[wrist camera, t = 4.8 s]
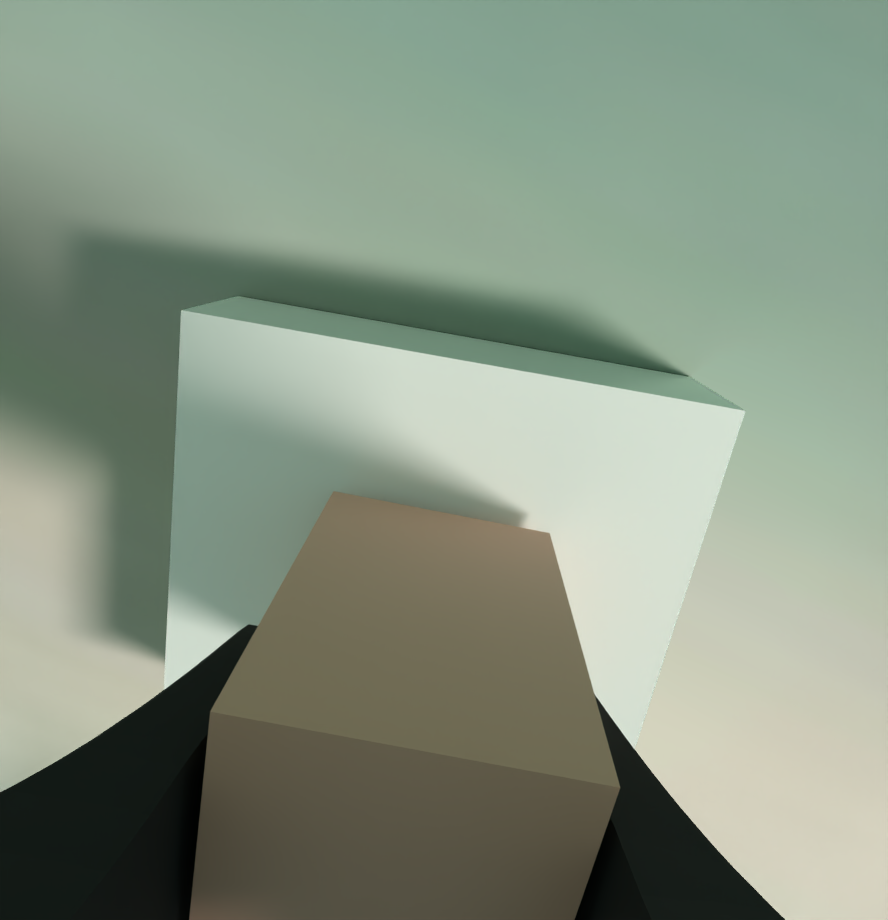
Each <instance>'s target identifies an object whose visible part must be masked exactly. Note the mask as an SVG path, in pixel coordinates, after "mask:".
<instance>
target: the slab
mask: <svg viewBox="0 0 888 920" xmlns="http://www.w3.org/2000/svg"><path fill="white" fill-rule="evenodd" d="M744 414H745V410H743V409H742V408H740V407H738V406H737V405H735V404H734V403H732V402H730V401H729V400H727V399H726V398H724V397H722V396H721V395H719V394H718V393H716V392H714V391H713V390H711V389H709V388H708V387H706V386H705V385H703V384H701V383H700V382H698V381H697V380H695V379H693V378H692V377H687V376H682V375H676V374H671V373H665V372H659V371H654V370H648V369H643V368H637V367H631V366H626V365H620V364H615V363H609V362H604V361H598V360H592V359H587V358H581V357H576V356H570V355H565V354H559V353H553V352H548V351H542V350H537V349H531V348H525V347H520V346H514V345H509V344H503V343H498V342H492V341H486V340H481V339H475V338H470V337H464V336H459V335H453V334H447V333H442V332H436V331H431V330H425V329H419V328H414V327H408V326H403V325H397V324H392V323H386V322H380V321H375V320H369V319H364V318H358V317H353V316H347V315H341V314H336V313H330V312H325V311H319V310H313V309H308V308H302V307H297V306H291V305H286V304H280V303H274V302H269V301H263V300H258V299H252V298H247V297H241V296H236V297H232V298H228V299H224V300H220V301H216V302H212V303H208V304H204V305H200V306H196V307H192V308H188V309H184V310H181V324H180V346H179V368H178V390H177V412H176V434H175V456H174V478H173V500H172V522H171V544H170V566H169V588H168V610H167V632H166V654H165V676H164V689H166V688H167V687H168V686H170V685H171V684H173V683H174V682H175V681H177V680H178V679H179V678H181V677H182V676H183V675H185V674H186V673H187V672H188V671H190V670H191V669H192V668H194V667H195V666H196V665H197V664H199V663H200V662H201V661H202V660H204V659H205V658H206V657H207V656H209V655H210V654H211V653H212V652H214V651H215V650H216V649H217V648H219V647H220V646H221V645H222V644H223V643H225V642H226V641H227V640H228V639H230V638H231V637H232V636H233V635H234V634H236V633H237V632H238V631H239V630H241V629H242V628H244V627H245V626H247V625H248V624H250V625H256V626H258V625H259V623H260V622H261V620H262V618H263V616H264V614H265V613H266V611H267V609H268V607H269V605H270V604H271V602H272V600H273V598H274V596H275V595H276V593H277V591H278V589H279V587H280V586H281V584H282V582H283V580H284V579H285V577H286V575H287V573H288V571H289V570H290V568H291V566H292V564H293V562H294V561H295V559H296V557H297V555H298V553H299V552H300V550H301V548H302V546H303V545H304V543H305V541H306V539H307V537H308V536H309V534H310V532H311V530H312V528H313V527H314V525H315V523H316V521H317V519H318V518H319V516H320V514H321V512H322V511H323V509H324V507H325V505H326V503H327V502H328V500H329V498H330V496H331V494H332V493H333V491H336V492H341V493H346V494H351V495H356V496H361V497H366V498H372V499H377V500H382V501H387V502H392V503H397V504H403V505H408V506H413V507H418V508H423V509H428V510H433V511H439V512H444V513H449V514H454V515H459V516H464V517H469V518H475V519H480V520H485V521H490V522H495V523H500V524H506V525H511V526H516V527H521V528H526V529H531V530H536V531H542V532H547V533H550V536H551V540H552V543H553V547H554V551H555V554H556V558H557V561H558V565H559V569H560V572H561V576H562V579H563V583H564V587H565V590H566V594H567V597H568V601H569V605H570V608H571V612H572V615H573V619H574V623H575V626H576V630H577V633H578V637H579V641H580V644H581V648H582V651H583V655H584V659H585V662H586V666H587V669H588V673H589V677H590V680H591V684H592V687H593V691H594V694H595V696H596V697H597V698H598V700H599V701H600V703H601V704H602V705H603V707H604V708H605V710H606V711H607V712H608V714H609V715H610V717H611V718H612V719H613V721H614V722H615V723H616V725H617V726H618V728H619V729H620V730H621V732H622V733H623V734H624V736H625V737H626V739H627V740H628V741H629V743H630V744H631V745H632V747H633V748H634V749H635V746H636V743H637V740H638V737H639V734H640V731H641V728H642V725H643V722H644V719H645V716H646V713H647V710H648V707H649V704H650V701H651V698H652V694H653V691H654V688H655V685H656V682H657V679H658V676H659V673H660V670H661V667H662V664H663V661H664V658H665V655H666V652H667V649H668V646H669V643H670V640H671V636H672V633H673V630H674V627H675V624H676V621H677V618H678V615H679V612H680V609H681V606H682V603H683V600H684V597H685V594H686V591H687V588H688V585H689V582H690V578H691V575H692V572H693V569H694V566H695V563H696V560H697V557H698V554H699V551H700V548H701V545H702V542H703V539H704V536H705V533H706V530H707V527H708V523H709V520H710V517H711V514H712V511H713V508H714V505H715V502H716V499H717V496H718V493H719V490H720V487H721V484H722V481H723V478H724V475H725V472H726V469H727V465H728V462H729V459H730V456H731V453H732V450H733V447H734V444H735V441H736V438H737V435H738V432H739V429H740V426H741V423H742V420H743V417H744Z"/></svg>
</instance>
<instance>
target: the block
mask: <svg viewBox="0 0 888 920" xmlns="http://www.w3.org/2000/svg"><path fill="white" fill-rule="evenodd" d="M619 790H620V785H619V781H618V777H617V774H616V770H615V767H614V763H613V759H612V756H611V752H610V749H609V745H608V741H607V738H606V734H605V731H604V727H603V723H602V720H601V716H600V713H599V709H598V705H597V702H596V698H595V695H594V691H593V687H592V684H591V680H590V677H589V673H588V669H587V666H586V662H585V659H584V655H583V651H582V648H581V644H580V641H579V637H578V633H577V630H576V626H575V623H574V619H573V615H572V612H571V608H570V605H569V601H568V597H567V594H566V590H565V587H564V583H563V579H562V576H561V572H560V569H559V565H558V561H557V558H556V554H555V551H554V547H553V543H552V540H551V536H550V533H547V532H542V531H536V530H531V529H526V528H521V527H516V526H511V525H506V524H500V523H495V522H490V521H485V520H480V519H475V518H469V517H464V516H459V515H454V514H449V513H444V512H439V511H433V510H428V509H423V508H418V507H413V506H408V505H403V504H397V503H392V502H387V501H382V500H377V499H372V498H366V497H361V496H356V495H351V494H346V493H341V492H336V491H333V493H332V494H331V496H330V498H329V500H328V502H327V503H326V505H325V507H324V509H323V511H322V512H321V514H320V516H319V518H318V519H317V521H316V523H315V525H314V527H313V528H312V530H311V532H310V534H309V536H308V537H307V539H306V541H305V543H304V545H303V546H302V548H301V550H300V552H299V553H298V555H297V557H296V559H295V561H294V562H293V564H292V566H291V568H290V570H289V571H288V573H287V575H286V577H285V579H284V580H283V582H282V584H281V586H280V587H279V589H278V591H277V593H276V595H275V596H274V598H273V600H272V602H271V604H270V605H269V607H268V609H267V611H266V613H265V614H264V616H263V618H262V620H261V622H260V623H259V625H258V627H257V629H256V630H255V632H254V634H253V636H252V638H251V639H250V641H249V643H248V645H247V647H246V648H245V650H244V652H243V654H242V656H241V657H240V659H239V661H238V663H237V664H236V666H235V668H234V670H233V672H232V673H231V675H230V677H229V679H228V681H227V682H226V684H225V686H224V688H223V690H222V691H221V693H220V695H219V697H218V698H217V700H216V702H215V704H214V706H213V707H212V709H211V711H210V718H209V728H208V738H207V748H206V758H205V768H204V778H203V788H202V798H201V807H200V817H199V827H198V837H197V847H196V857H195V867H194V877H193V887H192V897H191V906H190V916H189V920H575V917H576V914H577V911H578V908H579V905H580V903H581V900H582V897H583V894H584V891H585V888H586V885H587V882H588V880H589V877H590V874H591V871H592V868H593V865H594V862H595V859H596V856H597V854H598V851H599V848H600V845H601V842H602V839H603V836H604V833H605V830H606V828H607V825H608V822H609V819H610V816H611V813H612V810H613V807H614V805H615V802H616V799H617V796H618V793H619Z"/></svg>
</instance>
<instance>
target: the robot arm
mask: <svg viewBox="0 0 888 920" xmlns="http://www.w3.org/2000/svg"><path fill="white" fill-rule="evenodd" d="M257 627H258V626H256V625H250V624H248V625H247V626H245V627H244V628H242V629H241V630H239V631H238V632H237V633H236V634H234V635H233V636H232V637H231V638H230V639H228V640H227V641H226V642H225V643H223V644H222V645H221V646H220V647H219V648H217V649H216V650H215V651H214V652H212V653H211V654H210V655H209V656H207V657H206V658H205V659H204V660H202V661H201V662H200V663H199V664H197V665H196V666H195V667H194V668H192V669H191V670H190V671H188V672H187V673H186V674H185V675H183V676H182V677H181V678H179V679H178V680H177V681H175V682H174V683H173V684H171V685H170V686H168V687H167V688H166V689H164V690H163V691H162V692H160V693H159V694H158V695H156V696H155V697H154V698H152V699H151V700H150V701H148V702H147V703H146V704H144V705H143V706H141V707H140V708H138V709H137V710H135V711H134V712H132V713H131V714H129V715H128V716H127V717H125V718H124V719H122V720H121V721H119V722H118V723H116V724H115V725H113V726H112V727H110V728H109V729H107V730H106V731H104V732H103V733H101V734H100V735H98V736H97V737H95V738H94V739H92V740H91V741H89V742H88V743H86V744H84V745H83V746H81V747H79V748H78V749H76V750H75V751H73V752H71V753H70V754H68V755H67V756H65V757H63V758H61V759H60V760H58V761H56V762H55V763H53V764H51V765H50V766H48V767H46V768H44V769H42V770H41V771H39V772H37V773H35V774H34V775H32V776H30V777H28V778H27V779H25V780H23V781H21V782H19V783H17V784H15V785H14V786H12V787H10V788H8V789H6V790H4V791H2V792H0V920H189V916H190V906H191V897H192V887H193V877H194V867H195V857H196V847H197V837H198V827H199V817H200V807H201V798H202V788H203V778H204V768H205V758H206V748H207V738H208V728H209V718H210V711H211V709H212V707H213V706H214V704H215V702H216V700H217V698H218V697H219V695H220V693H221V691H222V690H223V688H224V686H225V684H226V682H227V681H228V679H229V677H230V675H231V673H232V672H233V670H234V668H235V666H236V664H237V663H238V661H239V659H240V657H241V656H242V654H243V652H244V650H245V648H246V647H247V645H248V643H249V641H250V639H251V638H252V636H253V634H254V632H255V630H256V629H257ZM594 695H595V694H594ZM595 698H596V702H597V705H598V709H599V713H600V716H601V720H602V723H603V727H604V731H605V734H606V738H607V741H608V745H609V749H610V752H611V756H612V759H613V763H614V767H615V770H616V774H617V777H618V781H619V785H620V790H619V793H618V796H617V799H616V802H615V805H614V807H613V810H612V813H611V816H610V819H609V822H608V825H607V828H606V830H605V833H604V836H603V839H602V842H601V845H600V848H599V851H598V854H597V856H596V859H595V862H594V865H593V868H592V871H591V874H590V877H589V880H588V882H587V885H586V888H585V891H584V894H583V897H582V900H581V903H580V905H579V908H578V911H577V914H576V917H575V920H785V919H784V918H783V917H782V916H781V915H780V914H779V913H778V912H777V911H776V910H775V909H774V908H773V907H772V906H771V905H770V904H769V903H768V902H767V901H766V900H765V899H764V898H763V897H762V896H761V895H760V894H759V893H758V892H757V891H756V890H755V889H754V888H753V887H752V886H751V885H750V884H749V883H748V882H747V881H746V880H745V879H744V878H743V877H742V876H741V875H740V874H739V873H738V872H737V871H736V870H735V869H734V868H733V867H732V866H731V865H730V863H729V862H728V861H727V860H726V859H725V858H724V857H723V856H722V855H721V854H720V853H719V852H718V850H717V849H716V848H715V847H714V846H713V845H712V844H711V843H710V842H709V840H708V839H707V838H706V837H705V836H704V835H703V833H702V832H701V831H700V830H699V829H698V828H697V826H696V825H695V824H694V823H693V822H692V821H691V819H690V818H689V817H688V816H687V815H686V814H685V812H684V811H683V810H682V809H681V808H680V807H679V805H678V804H677V803H676V802H675V801H674V799H673V798H672V797H671V796H670V794H669V793H668V792H667V791H666V789H665V788H664V787H663V786H662V784H661V783H660V782H659V781H658V779H657V778H656V777H655V776H654V774H653V773H652V772H651V770H650V769H649V768H648V767H647V765H646V764H645V763H644V761H643V760H642V759H641V757H640V756H639V755H638V753H637V752H636V751H635V749H634V748H633V747H632V745H631V744H630V743H629V741H628V740H627V739H626V737H625V736H624V734H623V733H622V732H621V730H620V729H619V728H618V726H617V725H616V723H615V722H614V721H613V719H612V718H611V717H610V715H609V714H608V712H607V711H606V710H605V708H604V707H603V705H602V704H601V703H600V701H599V700H598V698H597V697H596V696H595Z"/></svg>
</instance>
